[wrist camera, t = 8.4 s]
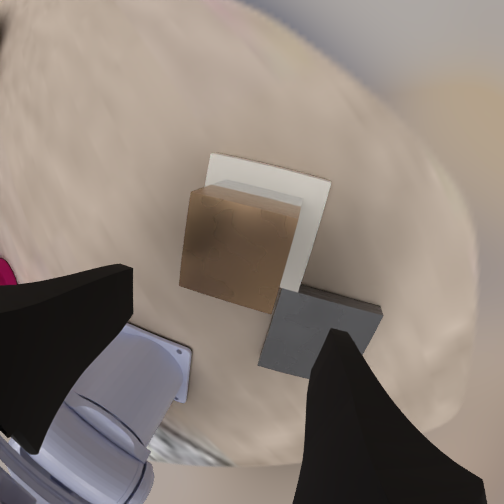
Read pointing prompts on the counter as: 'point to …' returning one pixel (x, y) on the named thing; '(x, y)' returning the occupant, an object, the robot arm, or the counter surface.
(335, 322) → the stand
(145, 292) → the counter surface
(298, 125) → the counter surface
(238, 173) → the stand
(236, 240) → the block
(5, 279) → the pepper mill
